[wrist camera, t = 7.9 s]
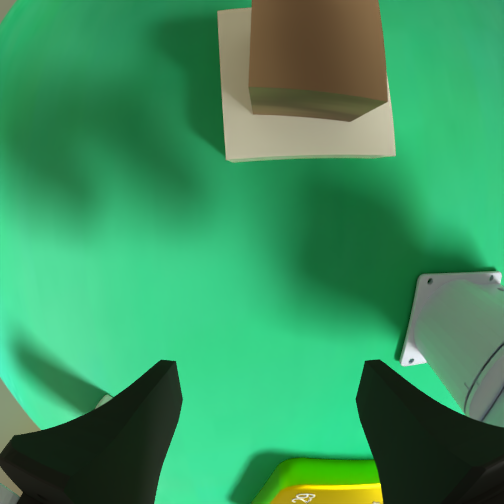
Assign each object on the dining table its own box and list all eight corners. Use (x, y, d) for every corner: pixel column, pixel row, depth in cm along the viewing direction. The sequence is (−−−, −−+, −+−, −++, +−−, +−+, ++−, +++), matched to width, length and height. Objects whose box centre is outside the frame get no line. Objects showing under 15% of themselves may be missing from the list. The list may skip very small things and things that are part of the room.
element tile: (344, 509, 30) (349, 532, 25) (247, 505, 29) (245, 532, 24) (400, 455, 26) (411, 483, 21) (284, 452, 25) (286, 488, 21)
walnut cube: (347, 40, 12) (377, -3, 8) (350, 121, 14) (387, 101, 9) (255, 31, 13) (252, -19, 8) (252, 114, 14) (248, 87, 9)
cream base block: (355, 37, 16) (373, 13, 12) (370, 158, 18) (395, 156, 14) (225, 38, 16) (217, 10, 12) (233, 162, 18) (226, 159, 14)
